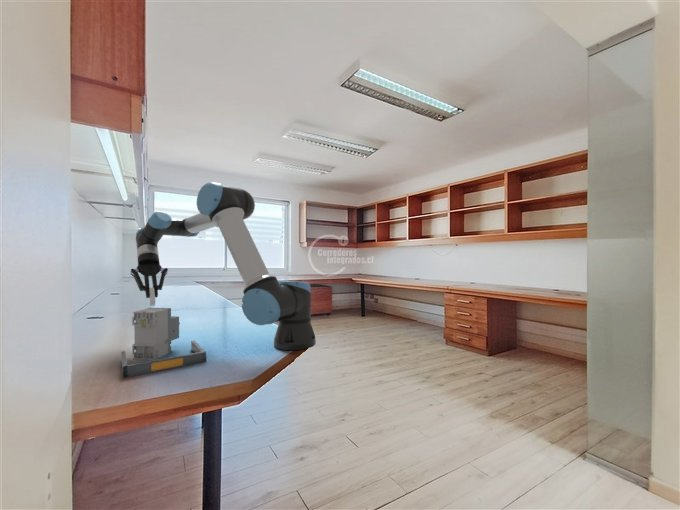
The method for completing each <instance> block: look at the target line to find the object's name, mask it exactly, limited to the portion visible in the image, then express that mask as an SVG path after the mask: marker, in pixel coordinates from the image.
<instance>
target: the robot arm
mask: <svg viewBox="0 0 680 510" xmlns="http://www.w3.org/2000/svg"><path fill="white" fill-rule="evenodd" d="M255 206H256V205H255V199H254V198H253V195H251V193H249V192H248V191H247V190H245V189H242V188H240V187H239V188H238V187H235V186H230V185H227V184H223V183H220V182H213V181H211V182H207V183H205V184H204V185H202V186H201V187H200V189H199V190H198V193H197V197H196V208H197V210H198V212H199V213H197V214H194V215H192V216H189V217H186V218H184V219H183V218H182V219H180V218H172V216H171V215H170V214H168V213H167V212H164V211H161V210H158V211H155V212H153V214H152V215H151V216H150V217H149V218H148V220H147V222H146V223H145V226H144V227H142V228H140V229H137V232H136V235H135V243H136V250H137V251H136V254H137V266H136V268H131V269H130V276H131V277H133V278H134V281H135V282H136V285H137V288H138V289H139V291H140V292H144V293H145V298H146V299H149V305H150V306H149V307H154V306H156V298H158V297H159V291H162V290H163V285H164V282H165V278H166V275H167V274H168V272H169V269H168V267H165V268H164V267H162V265H161V264H160V256H159V249H158V243H159V241H161V239H162V238H163V236H172V237H174V236H176V237H188V238H189V237H190V238H191V237H193V238H194V237H197V236H198V234H200V232H203V231H206V230H209V229H212V228H215V227H216V228H219V231H220V233H221V235H222V237H223V239H224V241H225V243H226V244H225V245H226V246H227V248H228V251H229V252H230V255H231V257H232V259H233V261H234V264H235V266H236V268H237V270H238V272H239V275H240V276H241V279H242V281H243V284H244V289H243V291H242V293H243V296H242V300H241V302H242V304H241V309H242V312H243V314H244V316H245V318H246V319H247V320H248V321H249V322H251V324H254V325H257V326H265V325H272V324H274V323H276V322H278V324H277V328H276V332H275V335H274V338H273V346H274V348H276V349H278V350H282V351H300V350H305V349H309V348H313V347H314V346H315V345H317V344H316V341H317V340H316V334H315V331H314V329H313V325H312V323H311V322H312V320H311V319H312V317H311V316H312V313H311V312H312V309H311V307H312V306H311V305H312V304H311V300H312V299H311V296H312V292H311V284H310V283H309V282H306V281H292V280H279V281H278V278H277V276H276V275H272V274H270V273H269V272H270V271H268V268H267V266H266V265H265V262H264V260H263V258H262V256H261V254H260V252H259V250H258V247H257V246H256V243H255V241H254V239H253V237H252V235H251V233H250V231H249V229H248V227H247V225H246V223H245V221H244V220H246V219H248V218H250V217H252V215H253V213H254V211H255ZM139 273H140V274H141V275H142V276H143V279H144V282H143V281H142V279H141V277H140V274H139ZM159 273H160V274H161V275H160V278H159V279H160V280H159V283H158V282H157V281H158V280H157V275H158V274H159ZM150 277H151V281H152V287H150Z"/></svg>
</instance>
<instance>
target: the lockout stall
mask: <svg viewBox="0 0 680 510" xmlns="http://www.w3.org/2000/svg"><path fill="white" fill-rule="evenodd" d="M190 342H191V343H190V346H191V347H190V349H191V351H192V352H193V353H187V354H183V355H182V354H181V355H176V356H170V357H165V358H158V359H156V360H148V361H144V362H137V363H131V364H128V361H127V354H126V351H124V350H123V351H121V352H120V363H121V373H123V374H122V379H125V378H130V377H137V376H141V375H142V376H143V375H147V374H151V373H157V372H161V371H166V370H171V369H177V368H181V367H186V366H191V365H197V364H202V363H205V362H207V351H206V350H205V349H204V348H203V347H202V346H201V345H200V344H199V343H198V342H197V341H196V340H191V341H190Z"/></svg>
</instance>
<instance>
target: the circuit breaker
mask: <svg viewBox="0 0 680 510" xmlns="http://www.w3.org/2000/svg"><path fill="white" fill-rule="evenodd" d="M132 314H133V316H132V317H131V319H132V320H131V322H132V323H131V326H133V327H134V343H133V344H132V345H131V346H132V351H131V352H132V354H131V355H133V357H132V360H137V361H139V360H140V361H141V360H142V361H143V360H144V361H147V360H148V361H153V360H159V359H161V358H162V357H164V356H166V355H168V354H170V353H172V346H171V345H172V341H174V340H177V339H179V338H180V324H181V323H180V316H178V315H177V316H175V315H174V316H172V308H171V307H147V308H144V309H140V310H135V311H132Z"/></svg>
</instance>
